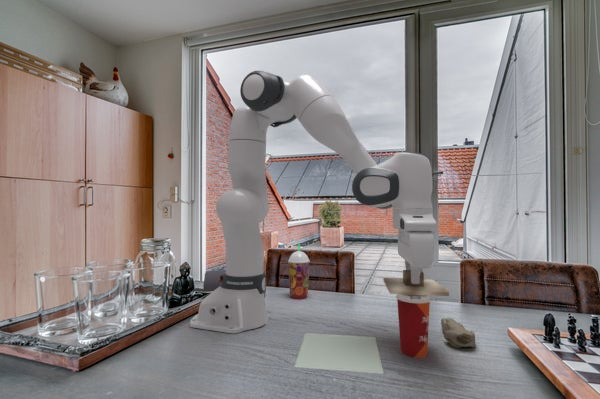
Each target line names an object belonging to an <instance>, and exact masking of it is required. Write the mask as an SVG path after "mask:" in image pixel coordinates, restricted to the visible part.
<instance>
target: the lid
mask: <svg viewBox="0 0 600 399" xmlns="http://www.w3.org/2000/svg"><path fill="white" fill-rule="evenodd" d="M410 275H411V270H406V269H403V270H402V278H394V277H393V278H392V277H383V283H384V285H385V286H386V289H387V291H388V293H389V294H390V295H397V294H407V295H429V296H433V297H434V296H435V297H450V292H449V291H448V290H447V289H445V287H443V286H442V285H441V284H440V283H438V282H437V281H436V280H434V279H429V278H427V279H425V277H424V276H425V274H424V272H423V271H422V270H421V273H420V283H419V284H412V283H411V282H410Z"/></svg>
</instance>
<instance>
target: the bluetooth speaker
mask: <svg viewBox="0 0 600 399" xmlns="http://www.w3.org/2000/svg"><path fill="white" fill-rule="evenodd" d="M224 272H226V269H218V270H217V269H215V270H208V271H205V273H204V280H203V287H202V288H203V292H204V291H214V290H215V289H217V288H218V287H219V286H220V281H219V282H217V281H218V280H219V279H218V278H219V277H220V276H221V275H223V273H224ZM264 273H265V292H264V294H265V293H266V291H267V270H264Z"/></svg>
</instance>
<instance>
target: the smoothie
mask: <svg viewBox="0 0 600 399" xmlns="http://www.w3.org/2000/svg"><path fill="white" fill-rule="evenodd" d="M300 246H301V244H300V243H297V251H294V252H292V254H291V255H290V256H289V259H288V260H287V265H288V266H287V268H288V282H289V283H288V284H289V294H290V296H291V298H292V299H295V300H300V299H301V300H302V299H306V298H307V295H308V293H309V279H310V278H309V277H310V265H311V264H310V263H311V260H310V259H309V256H308V255H307V253H305V252H304V251H301V250H300V248H301V247H300Z"/></svg>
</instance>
